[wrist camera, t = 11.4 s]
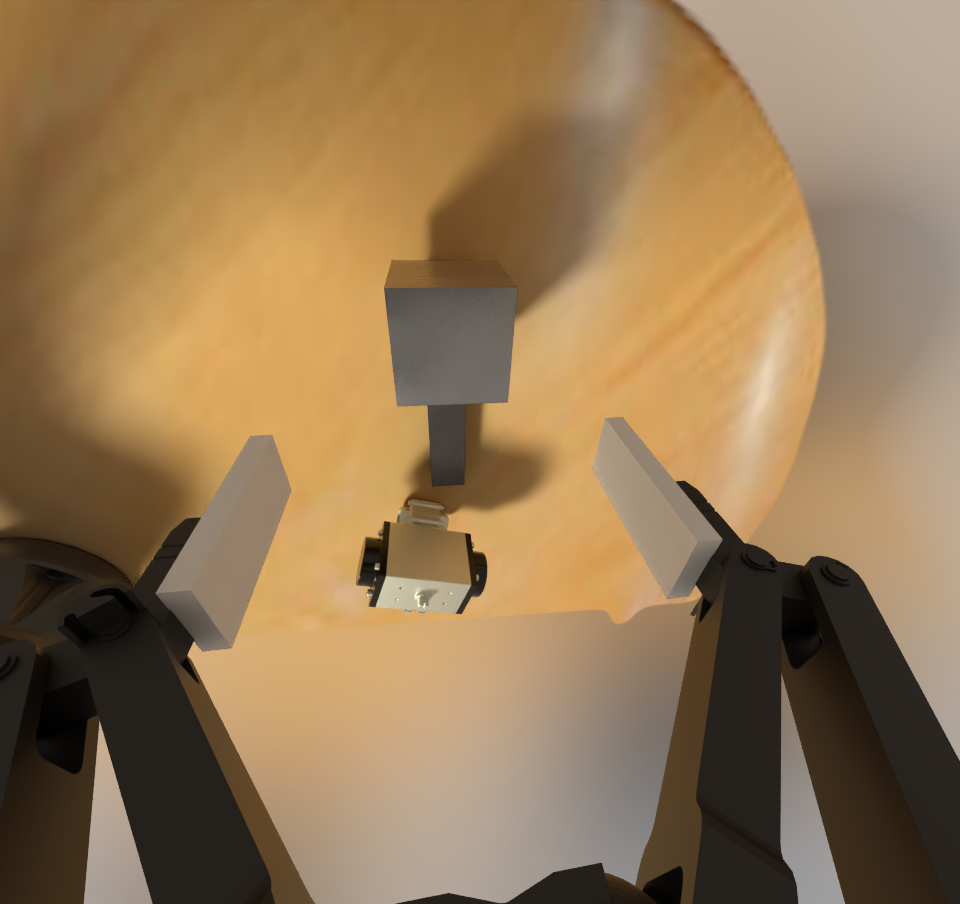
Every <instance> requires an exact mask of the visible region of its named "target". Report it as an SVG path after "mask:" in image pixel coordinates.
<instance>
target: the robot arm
mask: <svg viewBox="0 0 960 904" xmlns="http://www.w3.org/2000/svg"><path fill="white" fill-rule="evenodd" d="M592 470H593V472H594V474H595V475H596V477H597V479H598V481H599V482H600V484H601V486H602V487H603V489H604V491H605V493H606V494H607V496H608V498H609V500H610V501H611V503H612V505H613V506H614V508H615V510H616V512H617V513H618V515H619V517H620V519H621V520H622V522H623V524H624V525H625V527H626V529H627V531H628V532H629V534H630V536H631V538H632V539H633V541H634V543H635V544H636V546H637V548H638V550H639V551H640V553H641V555H642V557H643V558H644V560H645V562H646V563H647V565H648V567H649V569H650V570H651V572H652V574H653V576H654V577H655V579H656V581H657V582H658V584H659V586H660V588H661V589H662V591H663V593H664V595H665V596H666V598H667V599H670V598H678V597H687V596H689V595H690V594H691V592H692V590H693V589H694V587H695V585H696V586H697V587H698V589H699V590H700V592H701V593H702V596H701V598H700V600H699V601H698V603H697V604H696V606H695V608H694V609H693V611H692V613H691V615H692V616H695V614H696V618H695V623H694V628H693V633H692V638H691V643H690V648H689V653H688V658H687V663H686V668H685V673H684V678H683V682H682V687H681V692H680V697H679V702H678V707H677V712H676V717H675V722H674V728H673V733H672V738H671V742H670V747H669V752H668V757H667V763H666V768H665V773H664V778H663V783H662V787H661V793H660V797H659V802H658V808H657V812H656V818H655V822H654V826H653V830H652V833H651V836H650V838H649V841H648V843H647V845H646V848H645V850H644V853H643V856H642V859H641V863H640V867H639V872H638V876H637V881H636V886H634V885H632V884H631V883H629V882H627V881H625V880H624V879H621V878H619V877H616V876H614V875H611V874H608V873H604V869H603V866H602V863H598V864H593V865H588V866H583V867H578V868H573V869H568V870H563V871H558V872H553V873H552V874H550V875H549V876H547V877H546V878H544V879H543V880H541V881H540V882H538V883H537V884H535V885H534V886H532V887H531V888H529V889H528V890H526V891H524V892H523V893H521V894H520V895H518V896H517V897H515V898H514V899H512V900H511V901H509V902H507V903H495V902H490V901H486V900H481V899H476V898H471V897H465V896H460V895H455V894H450V893H447V894H442V895H437V896H432V897H427V898H422V899H417V900H412V901H407V902H402V903H397V904H798V895H797V885H796V882H795V878H794V876H793V872H792V871H791V869H790V868H789V867H788V865H787V864H786V862H785V861H784V860H783V857H782V854H781V846H780V813H781V810H780V809H781V806H780V805H781V800H780V799H781V798H780V797H781V672H782V675H783V679H784V683H785V687H786V690H787V694H788V698H789V701H790V705H791V709H792V712H793V716H794V719H795V723H796V727H797V730H798V734H799V738H800V741H801V745H802V749H803V752H804V755H805V759H806V763H807V766H808V770H809V774H810V778H811V781H812V785H813V788H814V792H815V795H816V799H817V803H818V806H819V810H820V814H821V817H822V821H823V825H824V828H825V832H826V836H827V839H828V843H829V846H830V850H831V854H832V857H833V861H834V864H835V868H836V872H837V875H838V879H839V883H840V886H841V890H842V894H843V897H844V901H845V904H960V761H959V759H958V757H957V755H956V754H955V752H954V750H953V748H952V746H951V744H950V742H949V740H948V738H947V737H946V735H945V733H944V731H943V729H942V727H941V725H940V723H939V722H938V720H937V718H936V716H935V714H934V712H933V710H932V709H931V707H930V705H929V703H928V701H927V699H926V697H925V695H924V694H923V692H922V690H921V688H920V686H919V684H918V682H917V681H916V679H915V677H914V675H913V673H912V671H911V669H910V667H909V666H908V664H907V662H906V660H905V658H904V656H903V654H902V653H901V651H900V649H899V647H898V645H897V643H896V641H895V639H894V638H893V636H892V634H891V632H890V630H889V628H888V626H887V625H886V623H885V621H884V619H883V617H882V615H881V613H880V611H879V610H878V608H877V606H876V604H875V602H874V600H873V598H872V597H871V595H870V593H869V591H868V589H867V587H866V585H865V584H864V582H863V580H862V579H861V578H860V576H859V575H858V574H857V573H856V572H855V571H854V570H852V569H851V568H849V566H847V565H845V564H843V563H842V562H840V561H838V560H835V559H832V558H829V557H824V556H816V557H812V558H811V559H810V560H809V561H808V562H807V564H806V565H805V566H801V565H795V564H790V563H784V562H778V561H777V560H776V559H775V558H774V557H773V556H772V555H771V554H769V553H768V552H767V551H765V550H763V549H761V548H759V547H757V546H754V545H750V544H745V543H743V541H742V540H741V539H740V538H739V537H738V536H737V534H736V533H735V532H734V531H733V530H732V529H731V528H730V526H729V525H728V524H727V523H726V522H725V521H724V519H723V518H722V517H721V516H720V515H719V514H718V513H717V512H715V509H714V508H713V507H712V506H711V504H710V503H707V500H706V499H705V498H704V496H703V495H702V494H701V493H700V492H699V491H698V490H697V489H696V488H694V487H693V486H691V485H690V484H688V483H687V482H685V481H676V482H675V481H674V479H673V478H672V477H671V476H670V474H669V473H668V472H667V471H666V470H665V468H664V467H663V466H662V465H661V463H660V462H659V461H658V460H657V459H656V457H655V456H654V455H653V454H652V452H651V451H650V450H649V449H648V448H647V446H646V445H645V444H644V443H643V441H642V440H641V439H640V438H639V437H638V435H637V434H636V433H635V432H634V430H633V429H632V428H631V427H630V426H629V424H628V423H627V422H626V421H625V419H624V418H623V417H616V418H605V421H604V425H603V429H602V433H601V436H600V440H599V444H598V448H597V452H596V456H595V460H594V464H593V468H592ZM290 492H291V487H290V484H289V481H288V479H287V476H286V473H285V470H284V467H283V464H282V462H281V459H280V456H279V453H278V450H277V447H276V445H275V442H274V439H273V436H272V435H262V436H250V437H249V439H248V441H247V442H246V444H245V446H244V447H243V449H242V451H241V452H240V454H239V456H238V457H237V459H236V461H235V462H234V464H233V466H232V467H231V469H230V471H229V472H228V474H227V476H226V477H225V479H224V481H223V482H222V484H221V486H220V487H219V489H218V491H217V492H216V494H215V496H214V497H213V499H212V501H211V502H210V504H209V506H208V507H207V509H206V511H205V512H204V514H203V516H202V517H201V518H187V519H185V520H184V521H183V522H182V523H180V524H179V525H178V526H177V527H176V528H175V529H173V530H172V531H171V532H170V534H169V535H168V537H167V538H166V540H165V541H164V543H163V544H162V548H161V549H159V550H158V552H157V553H156V555H155V556H154V560H153V561H151V562H150V564H149V565H148V567H147V568H146V570H145V571H144V573H143V575H142V576H141V578H140V579H139V581H138V582H137V584H136V585H135V587H134V588H133V589H132V587H131V584H130V583H129V581H128V580H127V579H126V578H125V576H124V575H123V574H122V573H120V572H119V571H118V570H117V569H116V568H114V567H113V566H111V565H110V564H108V563H106V562H105V561H103V560H101V559H99V558H97V557H95V556H93V555H91V554H88V553H86V552H83V551H81V550H78V549H75V548H72V547H68V546H65V545H61V544H57V543H52V542H47V541H40V540H32V539H17V538H9V539H0V904H84V892H85V881H86V870H87V858H88V847H89V833H90V823H91V812H92V811H91V810H92V800H93V788H94V777H95V765H96V754H97V753H96V752H97V741H98V730H99V719H100V723H101V726H102V730H103V733H104V737H105V740H106V744H107V747H108V751H109V754H110V758H111V761H112V764H113V768H114V771H115V775H116V778H117V782H118V785H119V789H120V792H121V796H122V799H123V802H124V806H125V809H126V813H127V816H128V820H129V823H130V826H131V830H132V834H133V837H134V840H135V844H136V847H137V851H138V854H139V857H140V861H141V865H142V868H143V872H144V875H145V878H146V882H147V885H148V889H149V892H150V896H151V899H152V903H153V904H315V903H314V901H313V900H312V898H311V897H310V895H309V893H308V891H307V889H306V887H305V886H304V884H303V881H302V880H301V878H300V876H299V873H298V872H297V870H296V868H295V866H294V864H293V862H292V860H291V858H290V856H289V854H288V852H287V850H286V848H285V846H284V844H283V842H282V840H281V838H280V836H279V834H278V832H277V830H276V828H275V826H274V824H273V822H272V820H271V818H270V816H269V814H268V812H267V810H266V808H265V806H264V804H263V802H262V800H261V798H260V796H259V794H258V792H257V790H256V788H255V786H254V784H253V782H252V780H251V778H250V776H249V774H248V772H247V770H246V768H245V766H244V764H243V762H242V760H241V758H240V756H239V754H238V752H237V750H236V748H235V746H234V744H233V742H232V740H231V738H230V737H229V734H228V732H227V730H226V728H225V726H224V724H223V722H222V720H221V718H220V717H219V714H218V712H217V710H216V708H215V706H214V704H213V702H212V700H211V698H210V696H209V694H208V692H207V691H206V688H205V686H204V684H203V682H202V680H201V678H200V676H199V675H198V672H197V670H196V668H195V667H194V664H193V662H192V661H191V659H190V658H189V657H188V656H187V655H188V652H189V650H190V648H191V646H192V643H193V642H195V643H196V644H197V645H198V647H199V648H200V649H201V650H202V651H210V650H219V649H228V648H232V646H233V643H234V641H235V638H236V636H237V633H238V630H239V628H240V625H241V622H242V620H243V617H244V614H245V612H246V609H247V606H248V604H249V601H250V598H251V596H252V593H253V591H254V588H255V585H256V583H257V580H258V577H259V575H260V572H261V569H262V567H263V564H264V561H265V559H266V556H267V553H268V551H269V548H270V545H271V543H272V540H273V537H274V535H275V532H276V530H277V527H278V524H279V522H280V519H281V516H282V514H283V511H284V508H285V506H286V503H287V500H288V498H289V495H290Z"/></svg>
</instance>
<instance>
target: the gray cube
mask: <svg viewBox="0 0 960 904" xmlns="http://www.w3.org/2000/svg"><path fill="white" fill-rule="evenodd" d="M384 291H385V300H386V309H387V318H388V327H389V336H390V345H391V354H392V363H393V372H394V381H395V390H396V399H397V406H422V405H450V404H478V403H506V402H508V394H509V382H510V370H511V359H512V347H513V335H514V323H515V311H516V299H517V287H516V285H515V284H514V283H513V281H512V280H511V279H510V278H509V276H508V275H507V274H506V273H505V271H504V270H503V269H502V267H501V266H500V265H499V264H498V262H497V261H423V260H392V261H391V264H390V268H389V272H388V275H387V279H386V283H385V286H384Z"/></svg>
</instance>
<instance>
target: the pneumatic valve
mask: <svg viewBox="0 0 960 904" xmlns="http://www.w3.org/2000/svg"><path fill="white" fill-rule="evenodd" d="M408 506H409V508H405V507H401V508H400V509H399V512H398V516H397V522H396V523H393V522H386V521H384V523H383V527H382V530H379V533H378V535H379V538H372V537H365V539H364V542H363V546H362V550H361V555H360V560H359V565H358V571H357V577H356V585H357V586H367V587H370V589H367V594H366V595H367V596H370V599H369V607H382V608H394V609H403V610H404V612H405V613H406V614H409V613H411V611H412V610H417V611H418V613H419V614H420V615H423V614H424V613H425V612H426V611H431V612H443V613H455V614H462V612H463V611H464V609H465V607H466V605H467V604H468V602H469V600H470V598H471V597H479V596H480V595H481V594H482V592H483V590H484V587H485V584H486V579H487V560H486V557H485V555H484V553H483V552H477V551H473V549H472V548H474V543H472V542H471V535H470V534H468V533H461V532H454V531H447V527H448V516H447V515H446V514H443V513H440V511H442V510H443V509H444V507H443V506H442V505H440V503H435V502H429V501H423V500H418V499H411V500H409V501H408Z"/></svg>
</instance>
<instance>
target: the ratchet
mask: <svg viewBox="0 0 960 904" xmlns="http://www.w3.org/2000/svg"><path fill="white" fill-rule="evenodd" d="M428 421H429V439H430V457H431V475H432V486H447V485H464V463H465V404H450V405H428Z"/></svg>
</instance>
